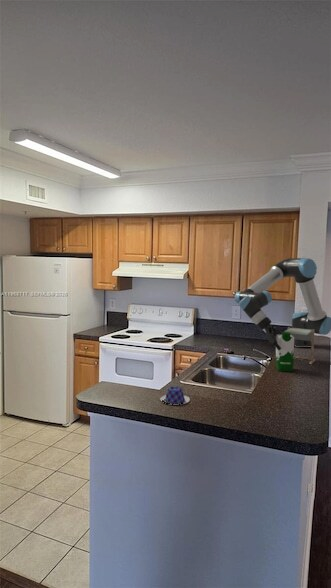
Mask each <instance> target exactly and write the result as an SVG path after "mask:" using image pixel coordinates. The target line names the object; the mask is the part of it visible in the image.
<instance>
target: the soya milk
mask: <svg viewBox="0 0 331 588" xmlns="http://www.w3.org/2000/svg"><path fill="white" fill-rule="evenodd" d="M281 332H282V331H281ZM275 338H276V340H277V342H278V343H279V344H280V345H281V346H282V347H283V348H284V349H285V350H286V352H287V353H286V354H285V355H284V356H283V355H282V354H281V353H280V352H279V351H278V350H277V348H276V347H275V368H276V369H277V370H278V372H293V369H294V362H295V361H294V359H295V358H294V356H295V354H294V353H295V347H294V337H293V336H292V335H291V333H289V332H284V331H283V332H282V335H276V336H275Z"/></svg>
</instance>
